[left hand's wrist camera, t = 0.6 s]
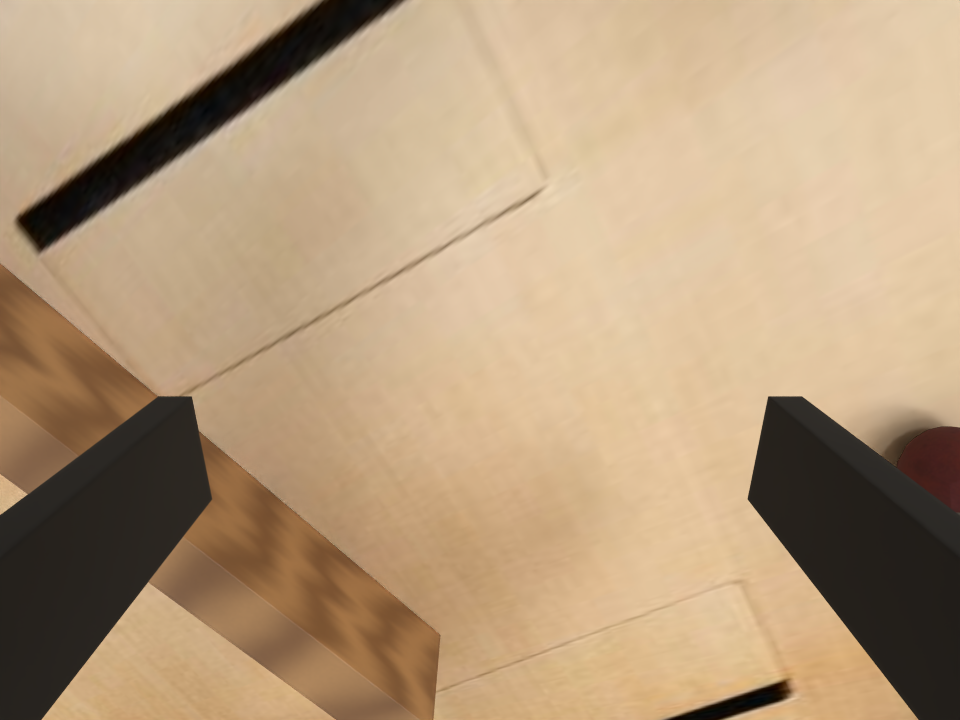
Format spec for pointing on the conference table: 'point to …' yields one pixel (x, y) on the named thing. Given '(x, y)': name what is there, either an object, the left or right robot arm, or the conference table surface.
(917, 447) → the potato
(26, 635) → the left robot arm
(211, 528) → the beam
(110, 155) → the conference table surface
